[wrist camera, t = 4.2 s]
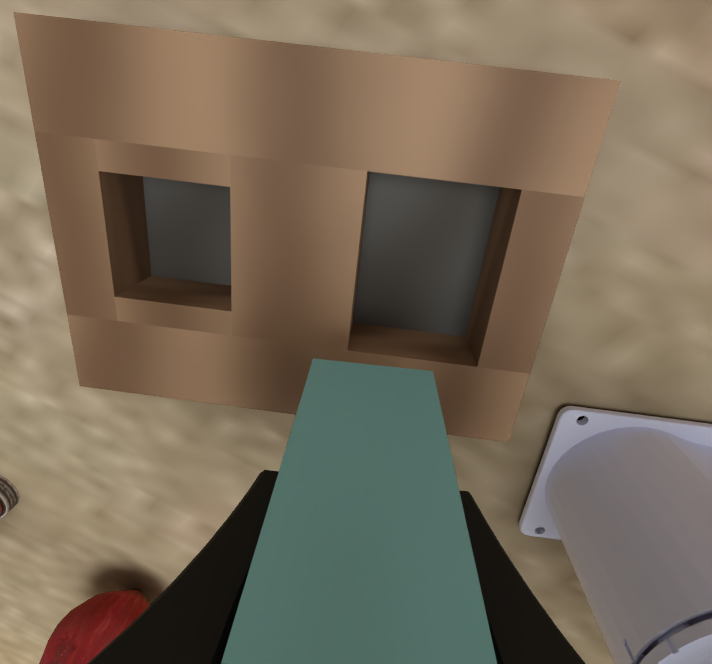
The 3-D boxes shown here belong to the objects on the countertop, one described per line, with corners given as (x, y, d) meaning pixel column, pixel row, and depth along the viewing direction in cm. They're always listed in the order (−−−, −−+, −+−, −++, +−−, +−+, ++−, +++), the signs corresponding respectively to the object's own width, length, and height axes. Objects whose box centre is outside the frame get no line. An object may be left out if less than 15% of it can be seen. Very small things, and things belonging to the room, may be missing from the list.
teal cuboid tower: (432, 371, 13) (504, 694, 5) (408, 499, 15) (435, 856, 7) (313, 358, 13) (221, 662, 5) (305, 488, 15) (232, 833, 7)
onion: (76, 564, 27) (-37, 717, 20) (159, 555, 27) (72, 712, 19) (115, 623, 30) (25, 781, 22) (193, 617, 29) (126, 779, 21)
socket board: (579, 91, 15) (620, 80, 13) (492, 402, 21) (508, 442, 18) (79, 34, 16) (13, 11, 13) (120, 353, 21) (79, 386, 18)
